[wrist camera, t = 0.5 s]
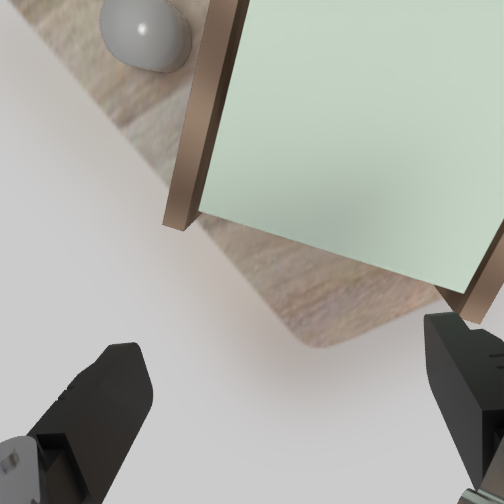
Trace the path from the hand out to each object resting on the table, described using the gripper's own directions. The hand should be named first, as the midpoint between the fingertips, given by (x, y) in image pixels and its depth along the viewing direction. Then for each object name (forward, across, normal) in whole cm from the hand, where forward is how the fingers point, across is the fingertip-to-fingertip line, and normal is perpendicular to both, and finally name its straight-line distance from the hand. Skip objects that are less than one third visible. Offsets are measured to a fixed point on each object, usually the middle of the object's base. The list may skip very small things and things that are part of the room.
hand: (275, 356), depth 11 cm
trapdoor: (+13, -7, -9) cm, 17 cm away
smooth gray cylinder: (+26, +9, -13) cm, 30 cm away
